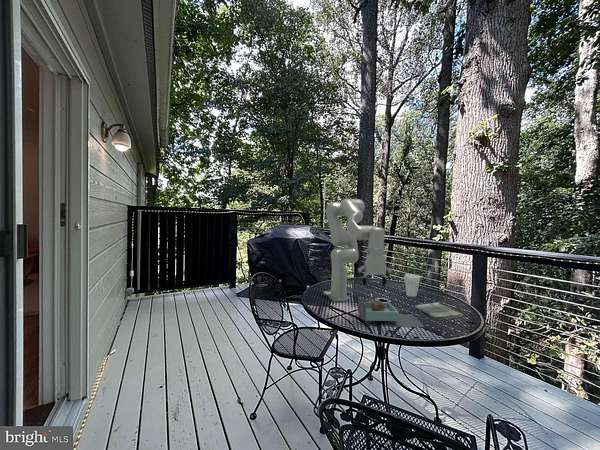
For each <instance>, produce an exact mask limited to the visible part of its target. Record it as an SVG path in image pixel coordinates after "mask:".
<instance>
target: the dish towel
mask: <svg viewBox="0 0 600 450" xmlns="http://www.w3.org/2000/svg"><path fill="white" fill-rule="evenodd" d="M414 308H415V309H416V310H418V311H420V312H421V313H422V314H423V313H424V314H425V315H426V316H429V317H431V318H432V319H434V320H445V319H458V318H464V315H463V313H462V312H459V311H457V310H455V309H453V308H451V307H449V306H447V305H443V304H441V303H439V302H438V301H437V302H431V303H425V304H424V303H422V304H417V305H415V306H414Z"/></svg>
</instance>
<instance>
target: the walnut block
mask: <svg viewBox="0 0 600 450" xmlns="http://www.w3.org/2000/svg"><path fill="white" fill-rule="evenodd" d="M371 302H372V311H384V310H385V304H384V303H383V301H379V300H378V301H377V300H376V301H375V300H374V301H373V300H372V301H371Z"/></svg>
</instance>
